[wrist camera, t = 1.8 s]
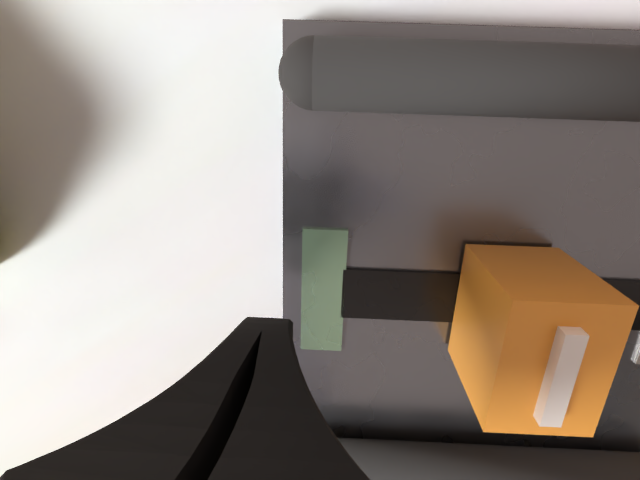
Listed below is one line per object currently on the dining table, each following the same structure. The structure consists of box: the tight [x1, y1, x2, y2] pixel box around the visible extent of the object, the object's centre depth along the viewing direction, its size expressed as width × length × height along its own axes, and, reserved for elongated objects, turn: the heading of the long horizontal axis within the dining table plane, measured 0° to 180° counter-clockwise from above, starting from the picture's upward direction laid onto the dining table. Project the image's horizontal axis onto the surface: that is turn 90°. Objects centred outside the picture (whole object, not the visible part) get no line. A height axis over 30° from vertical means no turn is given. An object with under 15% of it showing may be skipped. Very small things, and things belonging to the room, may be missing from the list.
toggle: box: [448, 244, 639, 437], centre depth 13 cm, size 4×3×4 cm
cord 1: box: [338, 438, 640, 480], centre depth 17 cm, size 2×16×2 cm, turn 88°
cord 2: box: [279, 35, 640, 122], centre depth 12 cm, size 2×16×2 cm, turn 89°
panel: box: [283, 19, 640, 452], centre depth 16 cm, size 18×16×1 cm
